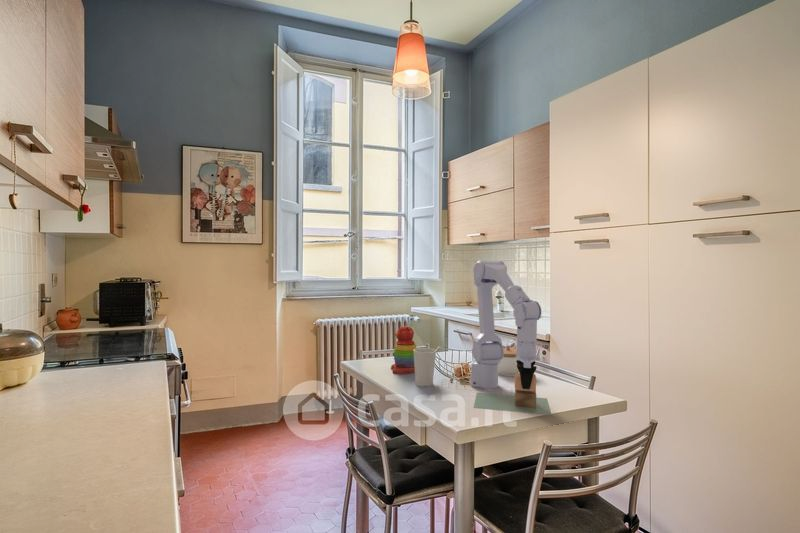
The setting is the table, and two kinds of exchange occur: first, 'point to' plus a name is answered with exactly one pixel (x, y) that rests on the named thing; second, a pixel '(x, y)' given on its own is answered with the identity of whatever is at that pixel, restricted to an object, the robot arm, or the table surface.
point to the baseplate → (509, 404)
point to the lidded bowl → (508, 362)
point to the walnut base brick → (525, 399)
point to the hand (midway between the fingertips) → (525, 386)
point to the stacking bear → (404, 351)
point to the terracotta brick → (519, 386)
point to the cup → (424, 366)
